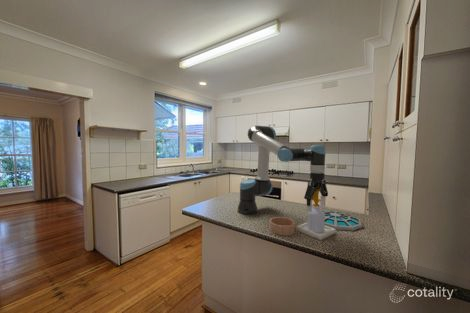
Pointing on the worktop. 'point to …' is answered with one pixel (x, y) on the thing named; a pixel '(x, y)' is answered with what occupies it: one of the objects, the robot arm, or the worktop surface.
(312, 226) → the soap bottle
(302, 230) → the tray
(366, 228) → the worktop surface
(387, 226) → the worktop surface
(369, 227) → the worktop surface
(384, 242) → the worktop surface
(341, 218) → the decorative platform
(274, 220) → the holder ring
